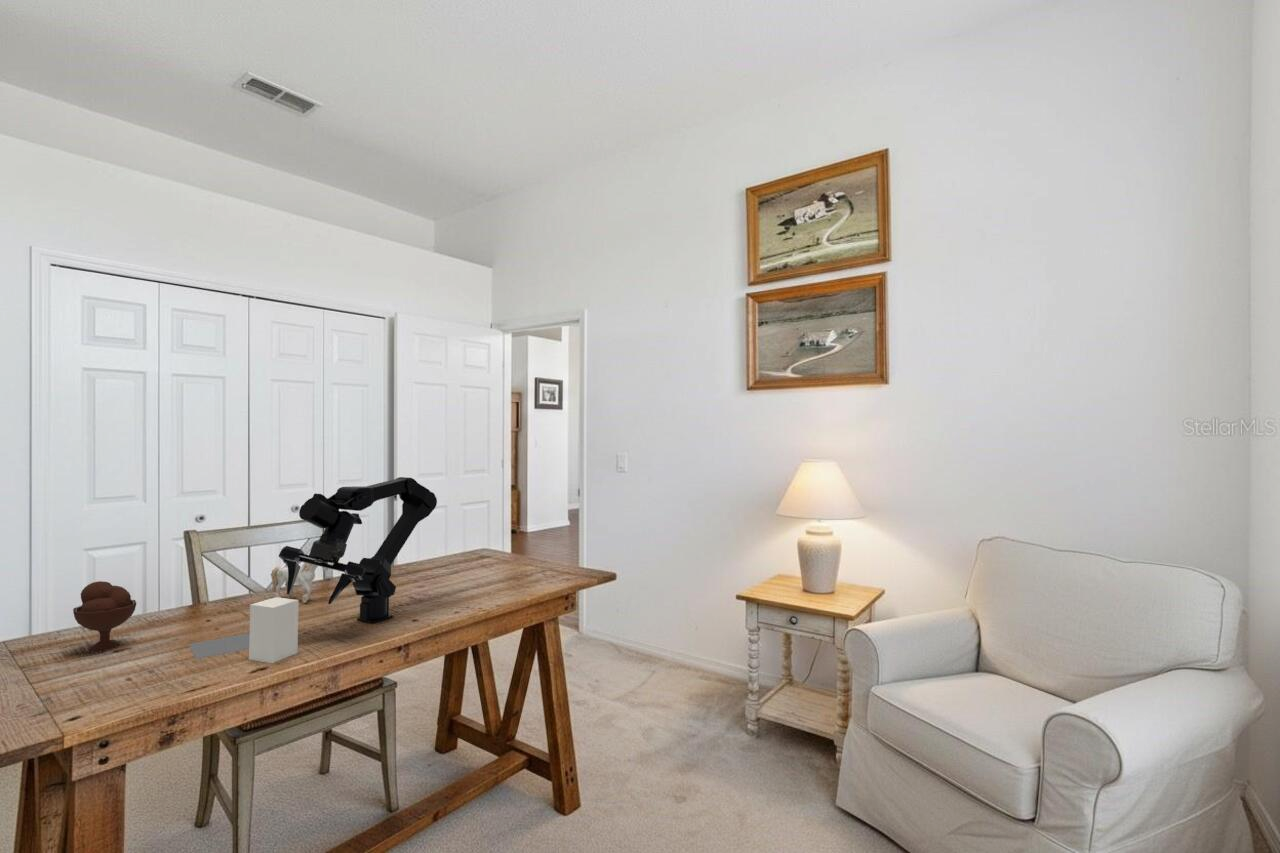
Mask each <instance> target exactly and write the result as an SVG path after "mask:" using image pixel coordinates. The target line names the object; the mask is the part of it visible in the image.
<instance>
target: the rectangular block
mask: <svg viewBox="0 0 1280 853" xmlns="http://www.w3.org/2000/svg"><path fill="white" fill-rule="evenodd" d="M249 633H250V634H249V649H248V660H250V661H251V660H252V661H256V662H263V663H268V664H274V663H276V662H279V661H281V660H284V659H286V658H289V657H291V656H294V655H297V654H298V648H299V647H298V644H299V643H298V641H299V639H298V637H299V636H298V635H299V599H295V598H294V599H292V598H284V597H282V598H278V597H275V596H274V597H272V598H268V599H265V600H261V601H259V602H255V603H251V604H250V605H249Z"/></svg>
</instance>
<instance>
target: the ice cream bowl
mask: <svg viewBox="0 0 1280 853" xmlns="http://www.w3.org/2000/svg"><path fill="white" fill-rule="evenodd" d="M80 600H81V603H82V605H79V606H76V607H73V609H72V612H73V615H74V620H75V621H76V622H77V624H78V625H80V626H81V627H83V628H85V629H87V630H90V631H97V632H98V634H99V641H97V642H95V643H94V644H92V645H91V646H89V647H88V652H89V651H93V652H92V653H94V652H97V653H104V652H103V651H106V650H110V649H114V648H116V647H118V646H120V642H118V641H116V640H112V639H111V637H110V635H111V631H112V629H114V628H117V627H119V626H120V625H122V624H124V623H126V621H128V620H129V619H130V618H131V617H133V616H132V615H133V614H134V612H135V611H136V607H137V604H138V603H137V601H136V599H132V596H131V594H130V592H129V591H128V590H127V589H126V588H124V587H123V586H119V585H113V584H112V583H110V582H108V581H101V580H100V581H98V580H97V581H94V582H90V583H88V584H87V585H86V586H84V588H83V589H82V590H81V593H80ZM100 651H101V652H100Z"/></svg>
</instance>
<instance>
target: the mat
mask: <svg viewBox="0 0 1280 853" xmlns="http://www.w3.org/2000/svg"><path fill="white" fill-rule="evenodd" d="M249 634H250V632H248V633H242V634H236V635H233V636H232V635H231V636H226V637H221V638H215V639H208V640H203V641H199V642H193V643H188V644H187V645H188V647H189V648H190V651H191V653H192V654H193V656H194V657H195V659H196V660H199V659H204V658H209V657H213V656H219V655H224V654H231V653H234V652H235V653H236V652H240V651H245V650H249Z"/></svg>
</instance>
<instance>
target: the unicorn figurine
mask: <svg viewBox="0 0 1280 853" xmlns="http://www.w3.org/2000/svg"><path fill="white" fill-rule="evenodd" d="M315 562H318V561H315ZM319 563H320V562H319ZM318 567H319V566H317V565H313V564H309V563H305V562H303V565H302V566H300V570H299V573H298V575H297V578H296V581H295V583H294V585H302V586H303V587H304V588H305V591H304V592H303V594H302V597H301V598H302V599H301V603H302V604H306V603H307V602H308V601H309V602H310V601H312V600H313V599H312V597H311V596H310V595H311V593H312V589H311V585H312V583H313V581H314V579H315V577H316V574H315V571H316V569H317V568H318ZM321 568H322V571H324V572H327V571H328V570H329V568H325V567H321ZM270 576H271V581H272V582H271V583H270V584H271V585H272V588H271V590H269V593H272V594H273V593H275V594H274V598H275V597H278V598H283V597H282V596H281V594H280V590H282V587H283V585H284V586H285V587H286V588H287V585H288V566H285V567H280V566H279V565H278V566H275V567H274V569H272V570H271V573H270ZM295 597H296V591H295V590H294V588H293V589H292V591H291V593H290V594H289V599H292V598H294V599H295Z"/></svg>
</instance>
